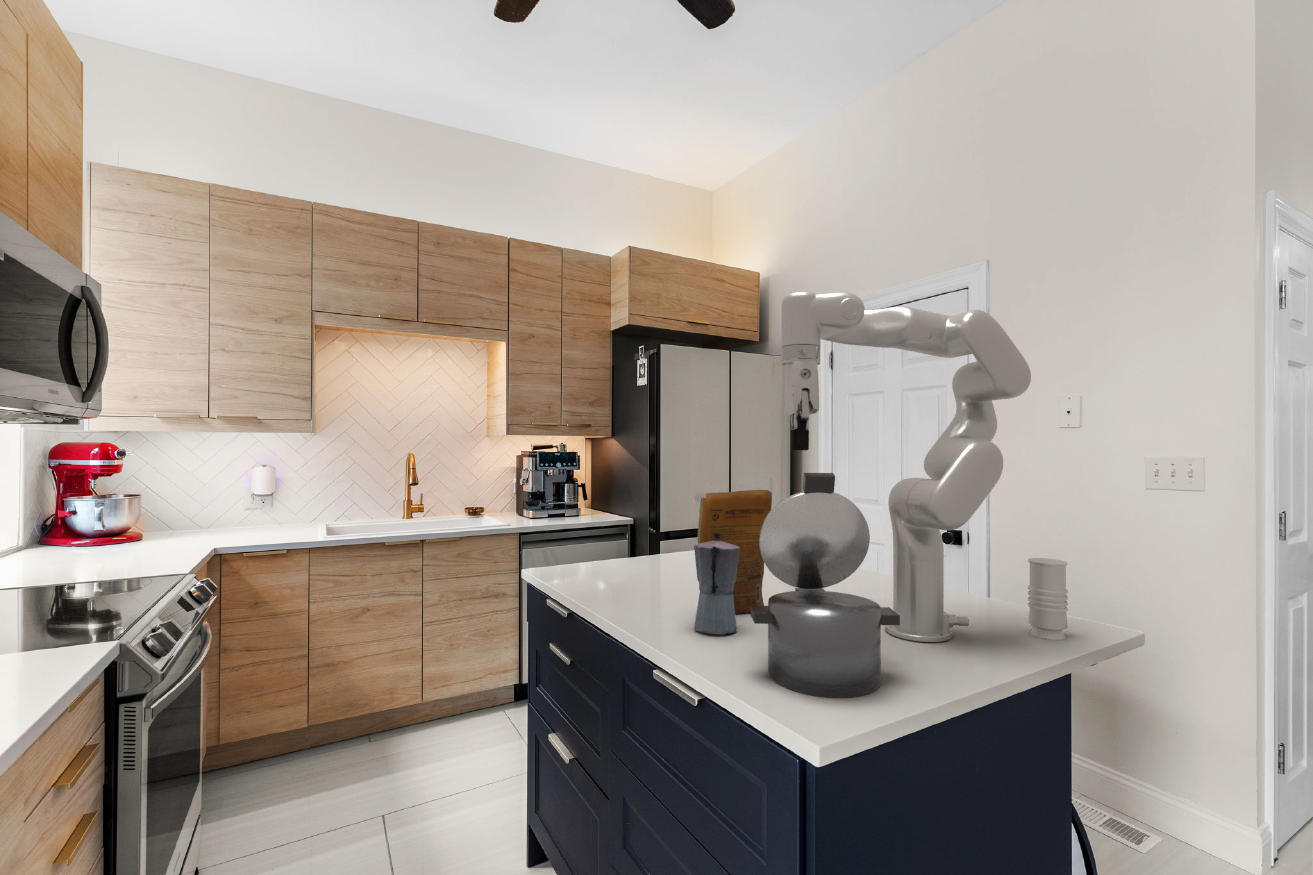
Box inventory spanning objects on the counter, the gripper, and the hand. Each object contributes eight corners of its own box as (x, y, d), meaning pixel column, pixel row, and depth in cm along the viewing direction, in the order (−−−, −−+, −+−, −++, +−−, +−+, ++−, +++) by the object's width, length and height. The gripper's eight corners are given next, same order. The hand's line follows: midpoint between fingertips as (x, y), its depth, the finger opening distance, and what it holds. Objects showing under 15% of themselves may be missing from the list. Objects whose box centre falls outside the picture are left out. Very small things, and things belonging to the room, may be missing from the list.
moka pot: (738, 620, 134) (738, 528, 134) (741, 643, 119) (741, 539, 119) (694, 619, 135) (695, 528, 135) (691, 641, 120) (692, 538, 120)
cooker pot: (873, 654, 113) (873, 588, 113) (915, 699, 93) (915, 619, 93) (744, 652, 113) (745, 587, 114) (759, 696, 94) (760, 617, 94)
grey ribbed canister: (1068, 634, 126) (1068, 560, 126) (1067, 642, 120) (1066, 565, 120) (1029, 628, 130) (1029, 556, 130) (1026, 636, 124) (1026, 561, 124)
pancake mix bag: (778, 613, 140) (779, 490, 141) (700, 619, 135) (701, 491, 135) (765, 605, 147) (765, 488, 147) (690, 611, 141) (690, 489, 141)
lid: (757, 588, 112) (755, 577, 116) (863, 589, 112) (858, 578, 115) (763, 476, 105) (761, 468, 108) (877, 476, 104) (871, 468, 108)
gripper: (829, 351, 113) (828, 450, 113) (811, 362, 128) (810, 450, 128) (788, 350, 114) (787, 450, 113) (775, 361, 129) (774, 449, 128)
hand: (799, 450), depth 121 cm, fingers closed
